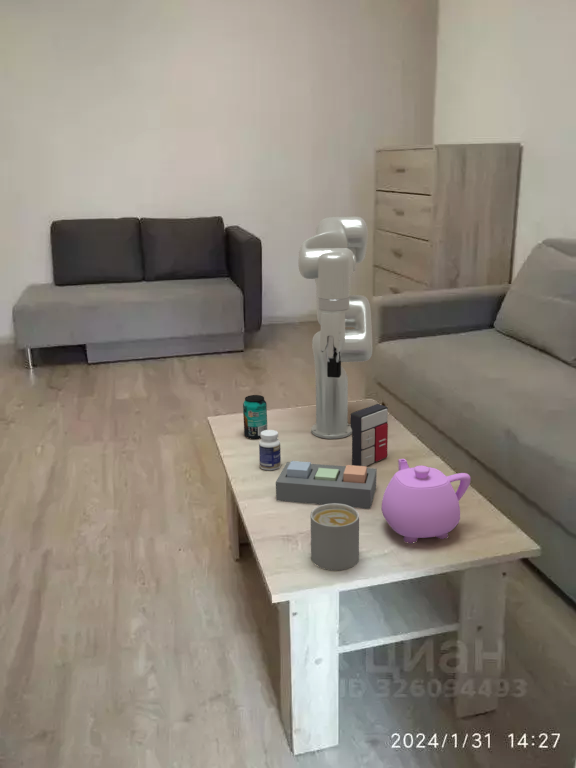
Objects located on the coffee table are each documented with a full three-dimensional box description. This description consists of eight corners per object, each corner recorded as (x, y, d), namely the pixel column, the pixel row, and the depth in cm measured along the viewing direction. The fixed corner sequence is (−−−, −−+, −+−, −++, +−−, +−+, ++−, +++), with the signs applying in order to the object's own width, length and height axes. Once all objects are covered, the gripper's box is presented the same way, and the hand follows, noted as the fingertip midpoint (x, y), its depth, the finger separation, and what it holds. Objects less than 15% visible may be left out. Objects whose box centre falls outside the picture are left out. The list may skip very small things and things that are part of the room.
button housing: (287, 479, 184) (287, 461, 182) (376, 486, 179) (376, 468, 177) (276, 500, 173) (275, 482, 171) (370, 508, 168) (370, 489, 166)
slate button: (291, 478, 180) (291, 460, 178) (311, 480, 178) (310, 462, 177) (287, 487, 175) (286, 469, 173) (307, 489, 174) (306, 470, 172)
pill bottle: (278, 471, 189) (277, 437, 186) (257, 470, 190) (256, 435, 187) (282, 463, 194) (281, 429, 191) (262, 461, 195) (261, 428, 192)
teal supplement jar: (249, 430, 218) (248, 393, 214) (271, 432, 216) (269, 395, 212) (240, 438, 212) (238, 400, 208) (262, 441, 209) (260, 402, 206)
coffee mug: (366, 565, 145) (366, 521, 142) (320, 574, 142) (319, 530, 139) (342, 534, 157) (342, 493, 154) (299, 541, 154) (298, 500, 151)
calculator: (361, 470, 188) (362, 417, 184) (350, 465, 192) (350, 413, 187) (389, 458, 195) (390, 407, 191) (377, 453, 198) (378, 403, 194)
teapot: (444, 499, 171) (447, 441, 167) (483, 540, 153) (488, 477, 148) (367, 509, 168) (367, 450, 163) (397, 553, 149) (399, 488, 144)
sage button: (319, 485, 178) (318, 467, 177) (338, 487, 177) (338, 469, 176) (315, 494, 174) (314, 476, 172) (335, 496, 173) (335, 477, 171)
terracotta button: (346, 483, 176) (346, 464, 175) (366, 484, 175) (366, 466, 174) (343, 492, 172) (343, 473, 170) (364, 494, 171) (364, 475, 169)
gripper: (324, 298, 180) (324, 367, 185) (312, 310, 166) (313, 384, 172) (353, 298, 178) (353, 368, 184) (344, 311, 164) (344, 386, 170)
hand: (334, 376), depth 178 cm, fingers closed
